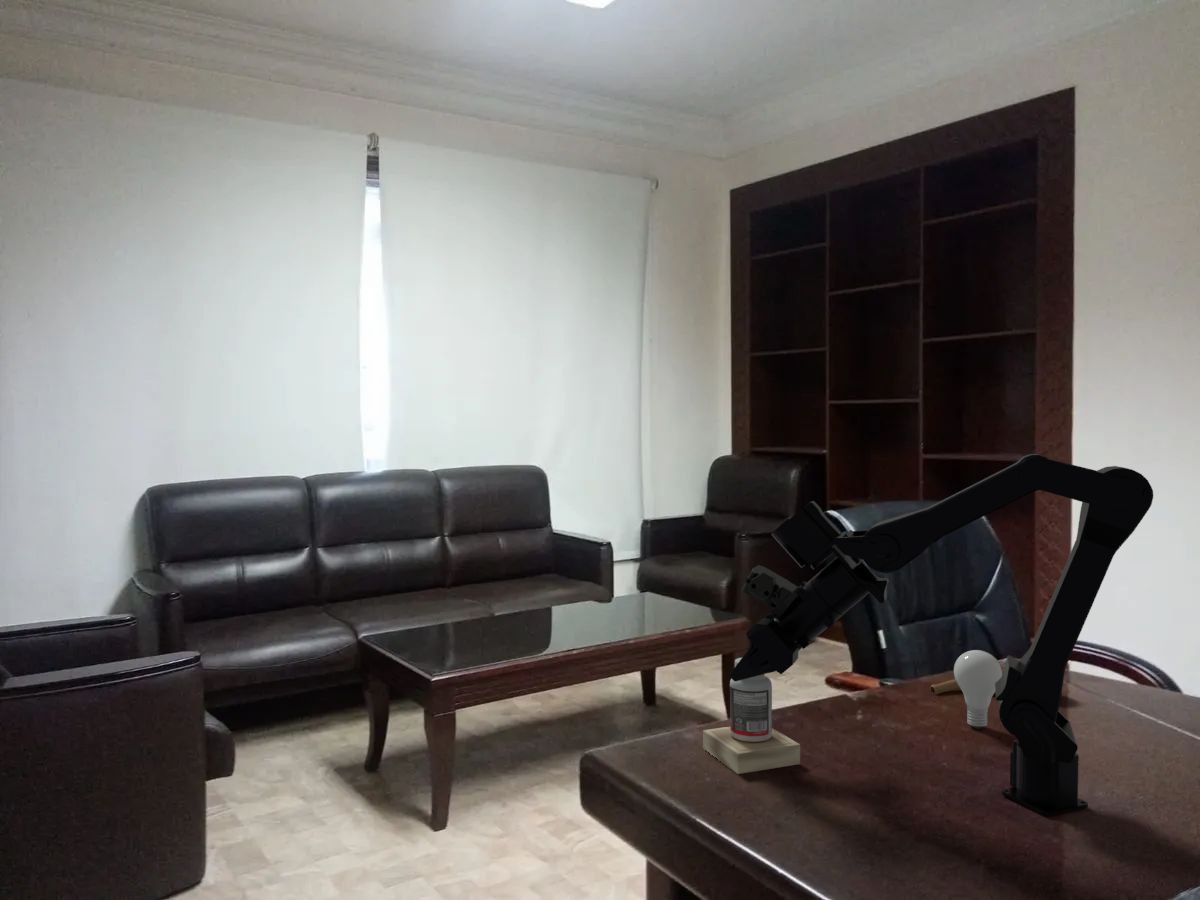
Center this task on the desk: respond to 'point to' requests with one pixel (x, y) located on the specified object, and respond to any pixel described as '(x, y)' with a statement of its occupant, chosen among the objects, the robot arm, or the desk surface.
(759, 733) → the pill bottle
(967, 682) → the lightbulb
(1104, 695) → the desk surface
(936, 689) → the pipe
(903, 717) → the desk surface
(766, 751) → the plinth
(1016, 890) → the desk surface
